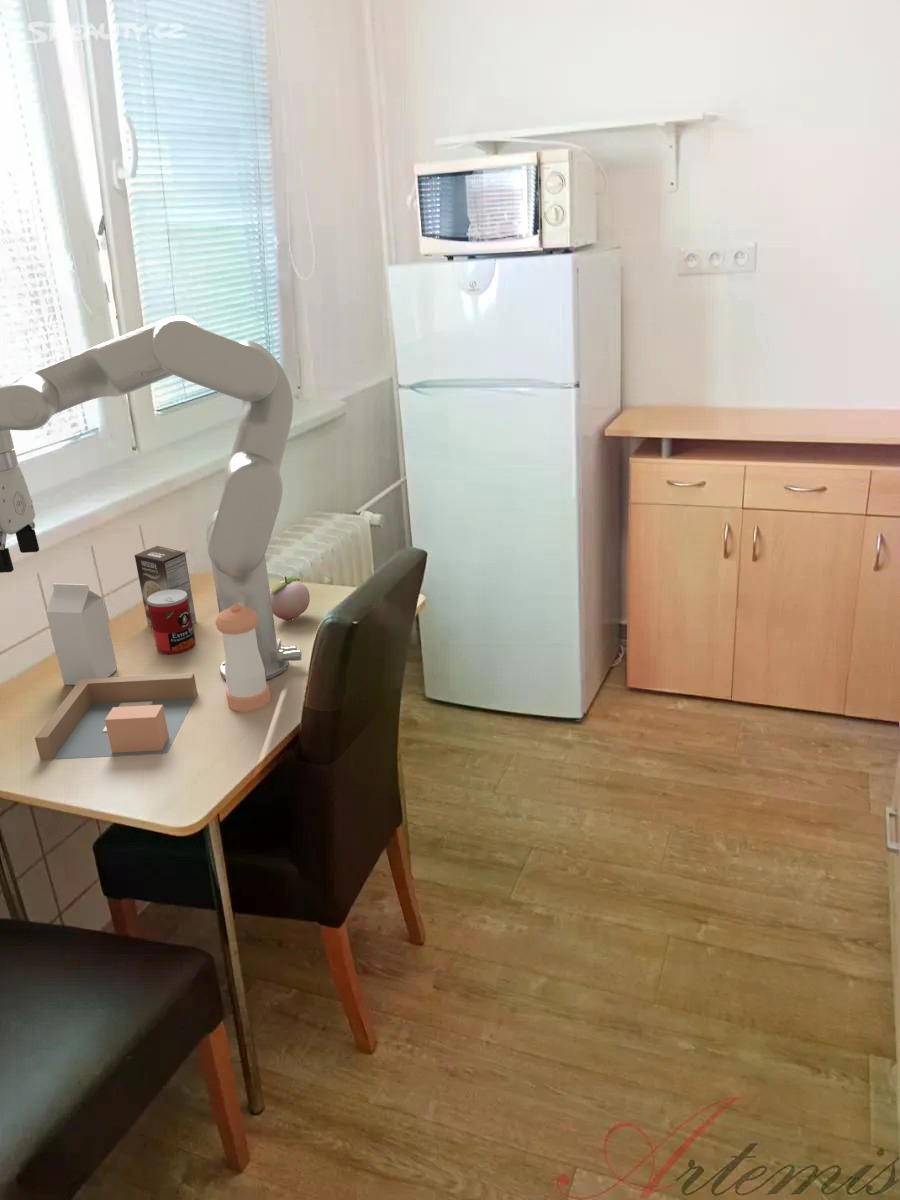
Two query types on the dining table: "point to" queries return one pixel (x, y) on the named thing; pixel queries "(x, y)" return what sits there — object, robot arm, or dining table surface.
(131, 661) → the dining table surface
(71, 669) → the milk carton
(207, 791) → the dining table surface
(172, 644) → the canned food
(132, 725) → the terracotta block
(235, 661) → the pepper shaker
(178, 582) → the coffee box
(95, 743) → the arena board
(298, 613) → the decorative fruit
